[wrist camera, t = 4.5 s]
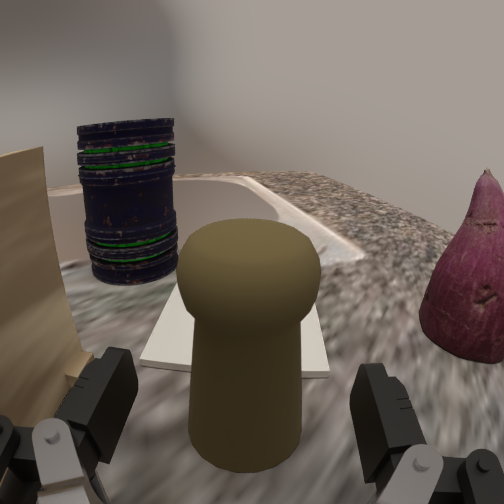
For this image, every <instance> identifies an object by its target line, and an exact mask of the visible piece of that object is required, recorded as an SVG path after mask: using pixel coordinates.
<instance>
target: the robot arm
mask: <svg viewBox="0 0 504 504" xmlns="http://www.w3.org/2000/svg"><path fill="white" fill-rule="evenodd" d="M137 392H138V378H137V374H136V370H135V366H134V363H133V359H132V355H131V352H130V350H128V349H122V348H115V347H108V348H107V349H106V351H105V353H104V354H103V356H102V358H101V359H98V358H95V359H94V360H92V361H91V362H90V363H89V364H87V365H86V366H85V367H84V369H83V370H82V372H81V374H80V375H79V379H78V378H77V380H76V382H75V383H74V387H72V388H71V390H70V392H69V393H68V395H67V397H66V398H65V400H64V402H63V404H62V405H61V407H60V409H59V411H58V412H57V414H56V416H55V417H54V418H48V419H45V420H42V421H41V422H39V423H38V424H37V425H36V426H35V427H20V426H14V425H13V423H12V422H11V421H10V419H9V418H8V417H6V416H4V415H0V482H1V480H2V478H3V475H4V473H5V471H6V469H7V467H8V470H7V472H6V474H5V477H4V479H3V481H2V483H1V486H0V504H36V501H37V498H38V501H39V504H111V503H110V501H109V499H108V497H107V494H106V492H105V490H104V487H103V485H102V482H101V480H100V477H99V475H98V472H97V470H96V467H97V464H98V462H99V461H100V462H103V463H107V464H110V461H111V459H112V456H113V453H114V451H115V448H116V446H117V443H118V440H119V438H120V435H121V433H122V430H123V428H124V425H125V423H126V420H127V418H128V415H129V413H130V410H131V408H132V405H133V403H134V401H135V398H136V396H137ZM412 407H413V406H412V404H411V401H410V400H409V396H408V394H407V391H406V389H405V386H404V385H403V384H402V383H401V382H400V381H399V380H398V379H397V378H396V377H388V375H387V372H386V370H385V367H384V365H383V364H382V363H370V364H361V365H360V367H359V369H358V372H357V375H356V379H355V382H354V385H353V388H352V391H351V394H350V411H351V416H352V420H353V425H354V430H355V435H356V440H357V444H358V449H359V455H360V460H361V465H362V470H363V476H364V481H365V484H366V483H373V482H375V483H376V488H377V490H376V491H375V493H374V494H373V496H372V497H371V499H370V501H369V502H368V504H504V473H503V470H502V467H501V465H500V462H499V460H498V458H497V456H496V455H495V454H494V453H493V452H491V451H489V450H486V449H477V450H475V451H473V452H472V453H470V454H469V456H468V457H467V458H454V457H444V456H441V454H440V453H439V451H438V450H437V449H435V448H434V447H432V446H429V445H427V443H426V441H425V438H424V436H423V433H422V430H421V427H420V425H419V422H418V419H417V417H416V414H415V411H414V409H412ZM41 488H42V489H41Z"/></svg>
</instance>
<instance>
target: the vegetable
mask: <svg viewBox="0 0 504 504" xmlns="http://www.w3.org/2000/svg"><path fill="white" fill-rule="evenodd" d="M419 316H420V322H421V326H422V329H423V332H424V333H425V334H426V335H427V336H428V337H429V338H430V339H431V340H433V341H434V342H435V344H437V345H439V346H441V347H442V348H444V349H445V350H447V351H449V352H450V353H452V354H454V355H456V356H458V357H461V358H464V359H467V360H472V361H476V362H481V363H497V362H500V361H502V360H503V359H504V193H503V191H502V189H501V187H500V185H499V183H498V181H497V180H496V179H495V178H494V177H493V176H492V174H491V172H490V170H489V169H488V168H486V169H485V170H484V173H483V175H481V177H480V178H479V179H478V181H477V183H476V186H475V188H474V192H473V195H472V199H471V203H470V207H469V209H468V212H467V214H466V217H465V219H464V222H463V223H462V225H461V227H460V228H459V230H458V231H457V233H456V234H455V236H454V237H453V239H452V240H451V242H450V243H449V245H448V246H447V248H446V249H445V251H444V252H443V254H442V256H441V257H440V259H439V261H438V262H437V264H436V266H435V269H434V271H433V273H432V276H431V279H430V282H429V284H428V287H427V289H426V291H425V294H424V298H423V300H422V303H421V307H420V310H419Z"/></svg>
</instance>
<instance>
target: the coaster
mask: <svg viewBox="0 0 504 504" xmlns="http://www.w3.org/2000/svg"><path fill="white" fill-rule="evenodd" d="M194 319H195V318H194V317H193V316H191V315H190V314H189V313H188V312H187V311H186V308H185V306H184V303H183V300H182V298H181V295H180V292H179V289H178V285H177V284H176V286H175V287H174V289H173V291H172V293H171V295H170V297H169V299H168V301H167V303H166V305H165V307H164V309H163V311H162V313H161V315H160V318H159V320H158V322H157V324H156V326H155V328H154V330H153V332H152V334H151V336H150V338H149V340H148V342H147V344H146V346H145V349H144V351H143V353H142V355H141V357H140V362H141V366H148V367H155V368H163V369H171V370H180V371H189V372H191V363H192V347H193V333H194ZM301 366H302V378H328V376H329V372H330V370H329V365H328V360H327V356H326V351H325V346H324V342H323V337H322V333H321V328H320V324H319V319H318V315H317V310H316V306H315V303H314V305H313V307H312V309H311V311H310V312H309V314H308V315H307V316H306V317H305V318H304V319H303V320H302V321H301Z"/></svg>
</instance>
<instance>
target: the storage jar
mask: <svg viewBox="0 0 504 504" xmlns="http://www.w3.org/2000/svg"><path fill="white" fill-rule="evenodd" d="M173 126H174V118H159V119H141V120H130V121H117V122H108V123H99V124H91V125H85V126H78V127H77V135H79V141H78V142H77V144H78V150H84V151H83V152H79V153H77V161H78V165H80V166H81V167H80V168H79V175H78V176H79V178H80V183H81V184H82V186H83V195H84V204H85V212H86V221H85V232H86V236H87V237H86V243H87V250H88V252H89V254H90V259H91V261H92V272H93V275H94V276H95V277H96V278H97V279H98V280H100V281H102V282H104V283H108V284H112V285H138V284H144V283H149V282H152V281H155V280H158V279H161V278H163V277H165V276H167V275H168V274H170V273H171V272H173V271H174V270H175V269H176V267H177V263H178V254H177V248H178V245H177V241H178V228H177V226H176V212H175V210H174V209H173V187H172V185H173V184H172V176H173V174H174V172H175V170H174V167H175V165H174V158H172V156H174V155H175V144H172V143H168V142H169V141H173V140H174V133H173V131H172V130H173V128H172V127H173Z"/></svg>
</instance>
